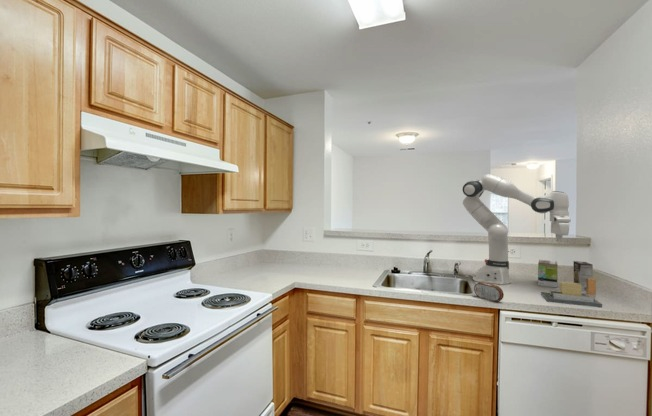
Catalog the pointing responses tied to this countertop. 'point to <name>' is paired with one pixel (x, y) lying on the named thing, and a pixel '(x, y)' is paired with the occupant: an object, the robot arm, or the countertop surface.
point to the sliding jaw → (589, 288)
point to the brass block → (570, 288)
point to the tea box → (547, 273)
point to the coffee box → (582, 273)
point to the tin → (488, 291)
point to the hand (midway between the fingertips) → (559, 241)
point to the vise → (571, 299)
